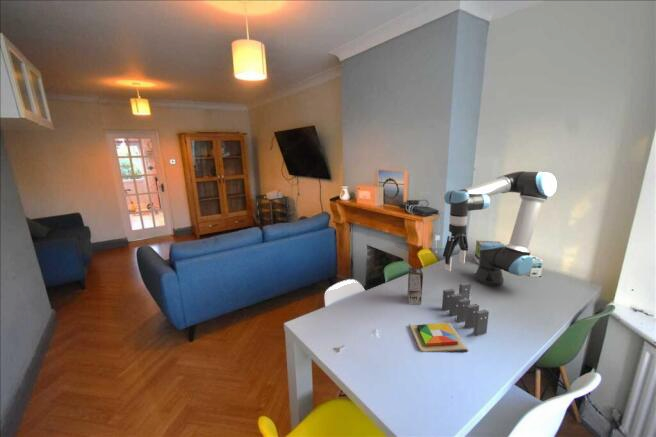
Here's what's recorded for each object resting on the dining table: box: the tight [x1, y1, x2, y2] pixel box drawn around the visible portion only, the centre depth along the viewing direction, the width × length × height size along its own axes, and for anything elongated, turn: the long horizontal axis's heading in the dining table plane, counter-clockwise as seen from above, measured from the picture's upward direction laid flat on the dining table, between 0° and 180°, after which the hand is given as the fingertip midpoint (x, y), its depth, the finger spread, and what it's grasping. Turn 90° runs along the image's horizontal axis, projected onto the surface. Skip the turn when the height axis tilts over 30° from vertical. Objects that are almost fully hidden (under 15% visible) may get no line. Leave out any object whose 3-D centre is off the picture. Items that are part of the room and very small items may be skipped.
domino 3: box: [458, 282, 471, 300], centre depth 143 cm, size 2×5×10 cm, turn 107°
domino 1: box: [441, 288, 456, 312], centre depth 137 cm, size 2×5×10 cm, turn 107°
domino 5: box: [464, 303, 480, 330], centre depth 123 cm, size 2×5×10 cm, turn 107°
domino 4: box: [456, 298, 471, 323], centre depth 128 cm, size 2×5×10 cm, turn 107°
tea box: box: [473, 240, 506, 265], centre depth 193 cm, size 15×10×15 cm
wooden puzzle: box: [408, 322, 469, 353], centre depth 117 cm, size 18×19×4 cm
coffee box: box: [407, 267, 424, 305], centre depth 146 cm, size 9×6×16 cm
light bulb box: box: [525, 254, 544, 278], centre depth 176 cm, size 11×7×11 cm, turn 179°
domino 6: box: [472, 309, 490, 336], centre depth 118 cm, size 2×5×10 cm, turn 107°
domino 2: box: [448, 292, 462, 317], centre depth 132 cm, size 2×5×10 cm, turn 107°
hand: (454, 266), depth 139 cm, fingers open, 13 cm apart
